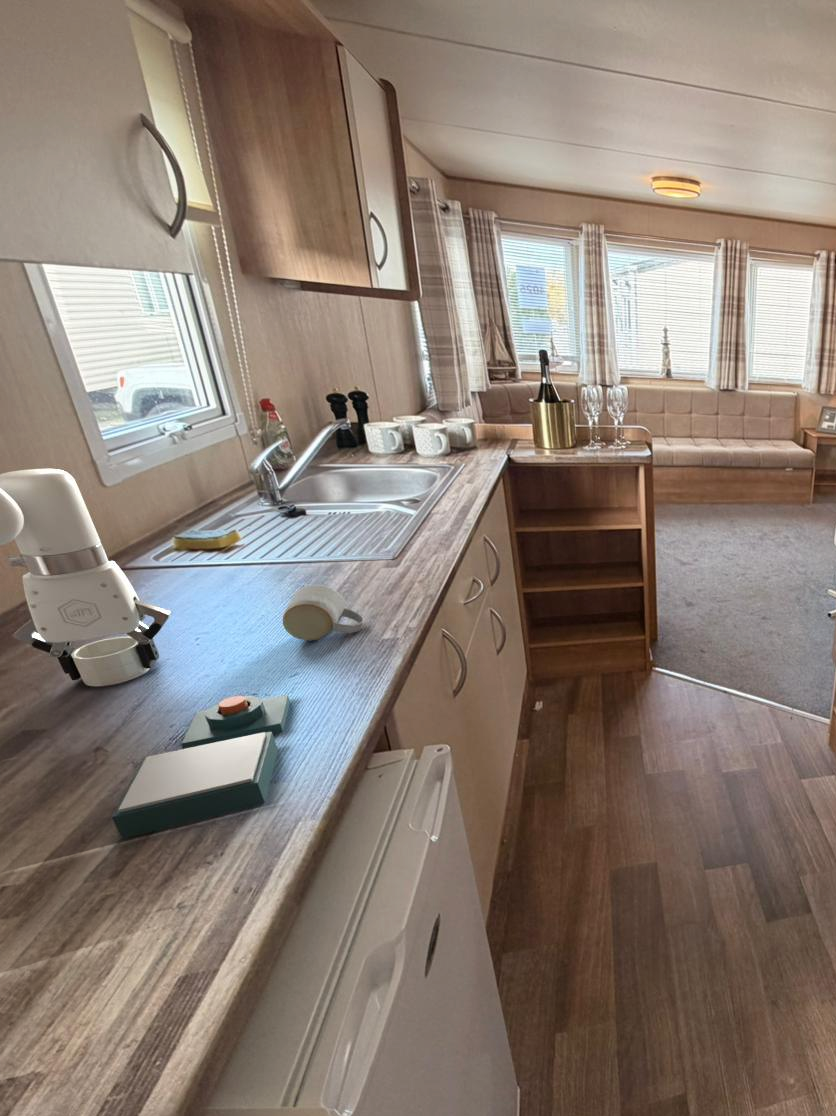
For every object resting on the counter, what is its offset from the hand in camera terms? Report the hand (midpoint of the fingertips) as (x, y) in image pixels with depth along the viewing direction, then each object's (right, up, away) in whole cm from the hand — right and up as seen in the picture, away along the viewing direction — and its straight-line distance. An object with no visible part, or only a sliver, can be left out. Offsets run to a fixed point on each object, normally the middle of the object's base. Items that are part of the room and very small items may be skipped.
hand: (115, 669), depth 96 cm
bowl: (0, -1, 0) cm, 1 cm away
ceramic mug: (+20, +5, +16) cm, 26 cm away
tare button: (+28, -4, -11) cm, 30 cm away
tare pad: (+28, -7, -10) cm, 30 cm away
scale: (+34, -12, -21) cm, 42 cm away
